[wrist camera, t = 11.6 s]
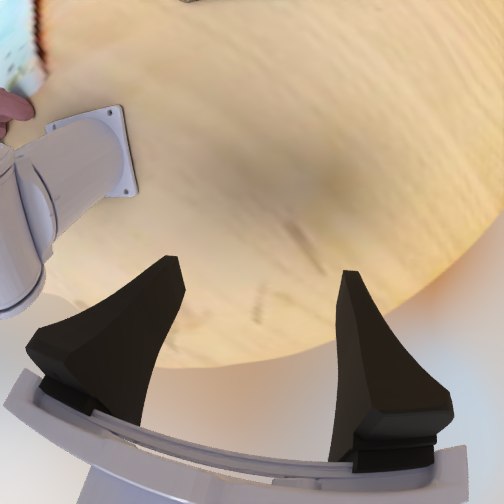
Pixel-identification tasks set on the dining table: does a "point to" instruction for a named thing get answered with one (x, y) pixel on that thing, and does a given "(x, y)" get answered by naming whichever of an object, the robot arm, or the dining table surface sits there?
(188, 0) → the grey open box
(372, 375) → the robot arm
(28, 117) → the video game controller
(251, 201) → the dining table surface
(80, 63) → the dining table surface
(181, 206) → the dining table surface
